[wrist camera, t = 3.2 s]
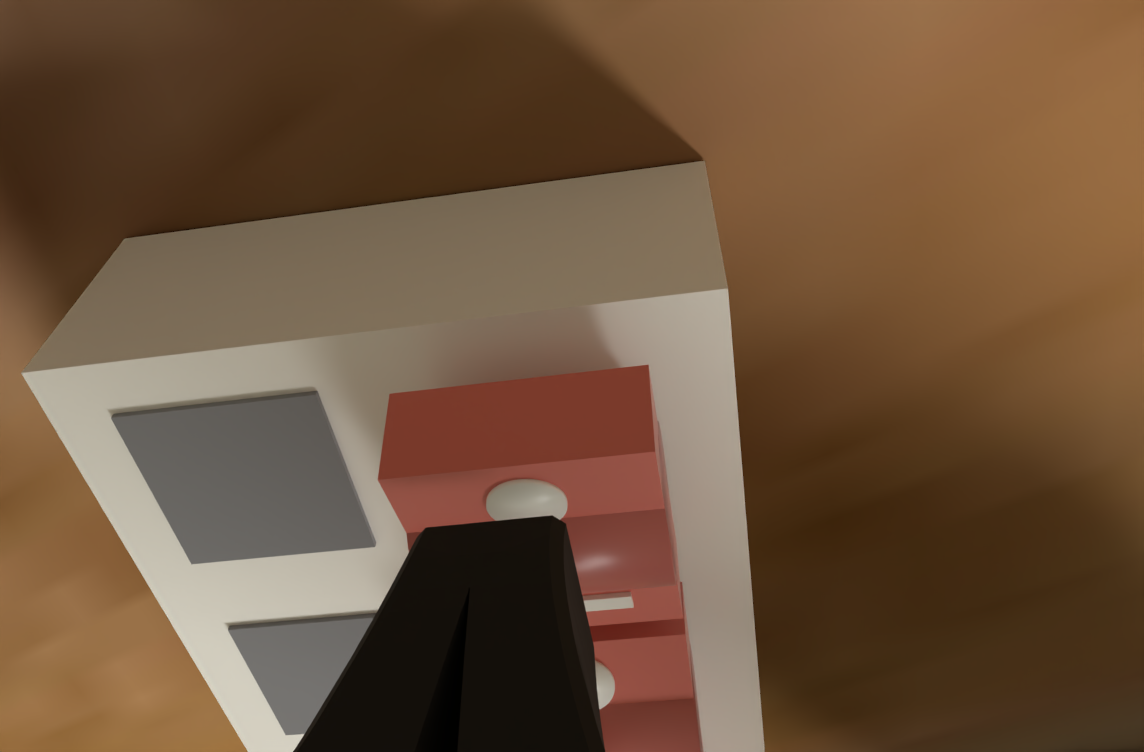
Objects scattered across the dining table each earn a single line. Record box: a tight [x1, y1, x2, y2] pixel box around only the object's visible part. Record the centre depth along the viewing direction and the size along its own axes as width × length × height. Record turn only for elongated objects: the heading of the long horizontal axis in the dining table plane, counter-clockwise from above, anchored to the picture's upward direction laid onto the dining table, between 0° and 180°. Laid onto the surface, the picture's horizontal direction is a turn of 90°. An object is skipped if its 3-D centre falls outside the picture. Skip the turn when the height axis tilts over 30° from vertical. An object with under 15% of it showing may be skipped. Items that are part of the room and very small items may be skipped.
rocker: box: [378, 365, 683, 626], centre depth 13 cm, size 4×3×2 cm
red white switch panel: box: [22, 161, 765, 752], centre depth 18 cm, size 13×9×4 cm
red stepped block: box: [589, 582, 704, 752], centre depth 15 cm, size 4×3×2 cm
